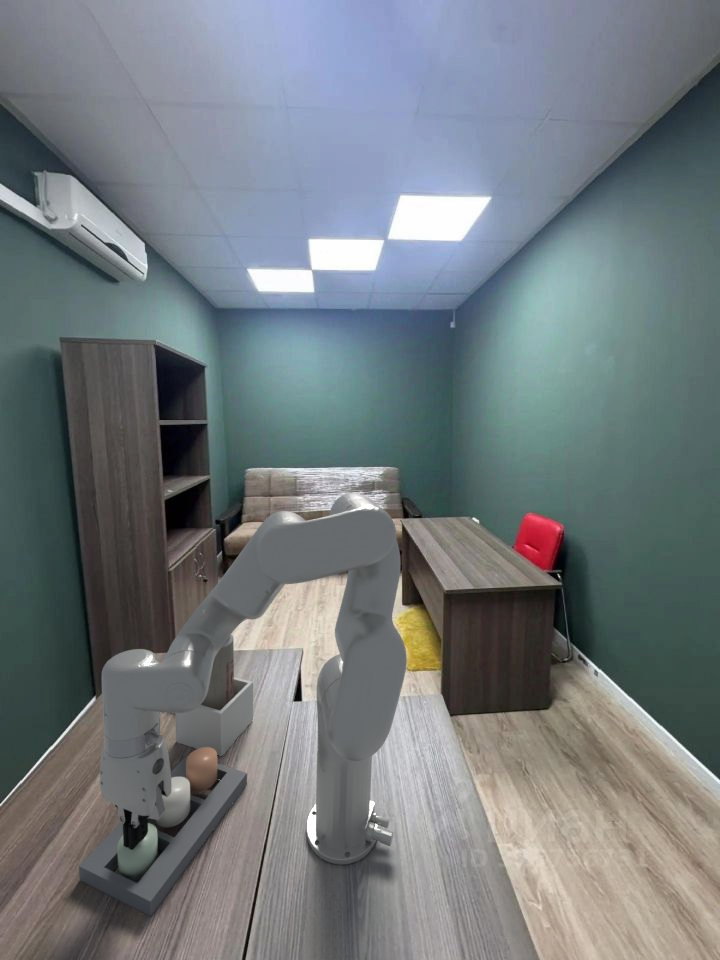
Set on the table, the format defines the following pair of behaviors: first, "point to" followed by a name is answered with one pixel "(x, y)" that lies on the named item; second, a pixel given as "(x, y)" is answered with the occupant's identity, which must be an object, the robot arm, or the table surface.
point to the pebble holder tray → (163, 846)
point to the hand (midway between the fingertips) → (136, 839)
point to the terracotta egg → (201, 768)
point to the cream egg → (176, 803)
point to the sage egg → (138, 856)
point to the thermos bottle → (221, 677)
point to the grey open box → (217, 721)
